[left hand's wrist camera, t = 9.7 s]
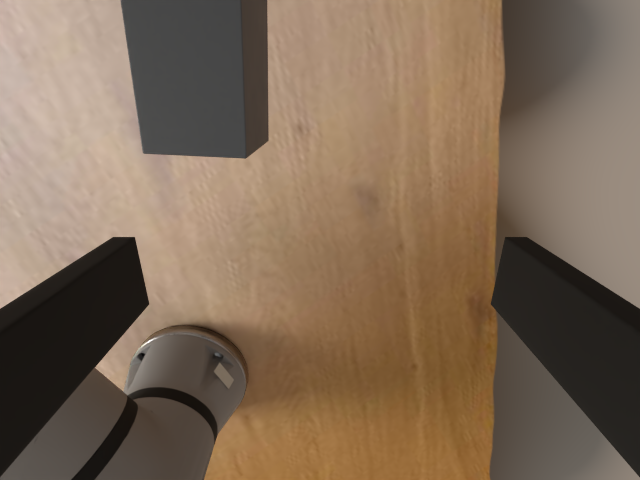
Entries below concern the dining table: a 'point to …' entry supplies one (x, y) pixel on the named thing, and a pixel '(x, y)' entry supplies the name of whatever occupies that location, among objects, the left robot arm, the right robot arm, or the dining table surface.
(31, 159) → the dining table surface
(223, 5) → the bar
